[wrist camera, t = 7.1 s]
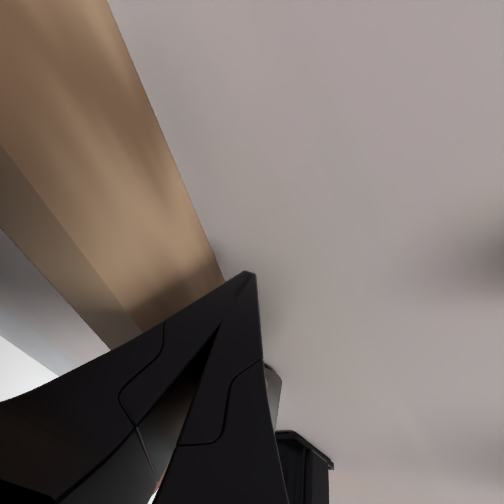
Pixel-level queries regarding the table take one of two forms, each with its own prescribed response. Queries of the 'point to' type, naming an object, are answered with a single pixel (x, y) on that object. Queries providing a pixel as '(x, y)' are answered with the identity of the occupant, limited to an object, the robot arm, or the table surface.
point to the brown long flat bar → (95, 175)
